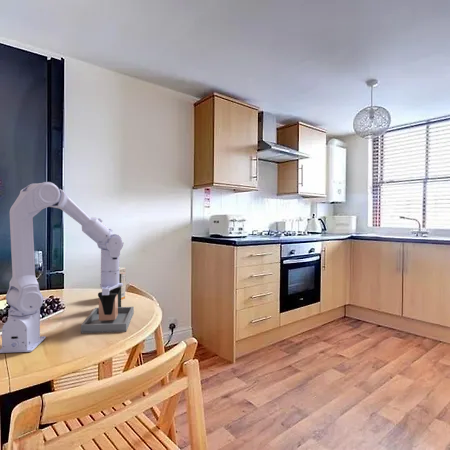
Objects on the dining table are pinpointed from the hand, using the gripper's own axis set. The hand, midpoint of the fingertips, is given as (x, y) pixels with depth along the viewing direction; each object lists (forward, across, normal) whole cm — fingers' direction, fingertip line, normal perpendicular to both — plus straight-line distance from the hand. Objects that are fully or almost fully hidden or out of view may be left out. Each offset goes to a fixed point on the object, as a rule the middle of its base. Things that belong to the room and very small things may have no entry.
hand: (109, 311), depth 106 cm
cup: (+2, 0, 0) cm, 2 cm away
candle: (+4, +16, +2) cm, 17 cm away
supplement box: (+4, +30, +4) cm, 31 cm away
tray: (+3, 0, 0) cm, 3 cm away
